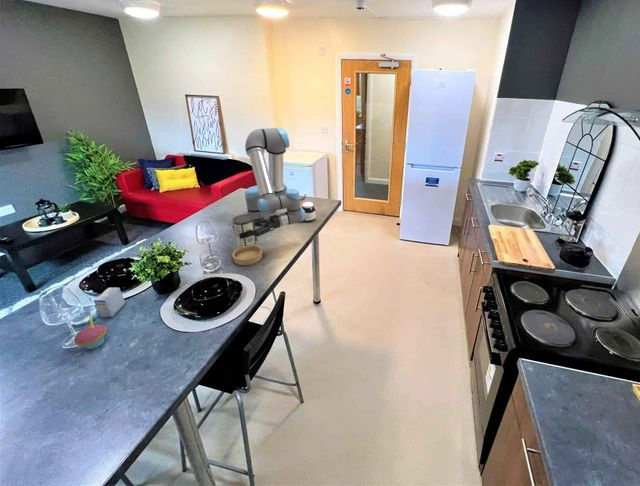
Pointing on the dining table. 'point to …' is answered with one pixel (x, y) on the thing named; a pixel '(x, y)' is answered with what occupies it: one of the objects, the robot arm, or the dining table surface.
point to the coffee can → (244, 229)
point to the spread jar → (309, 211)
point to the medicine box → (109, 302)
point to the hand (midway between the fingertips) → (236, 232)
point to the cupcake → (91, 335)
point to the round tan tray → (247, 255)
